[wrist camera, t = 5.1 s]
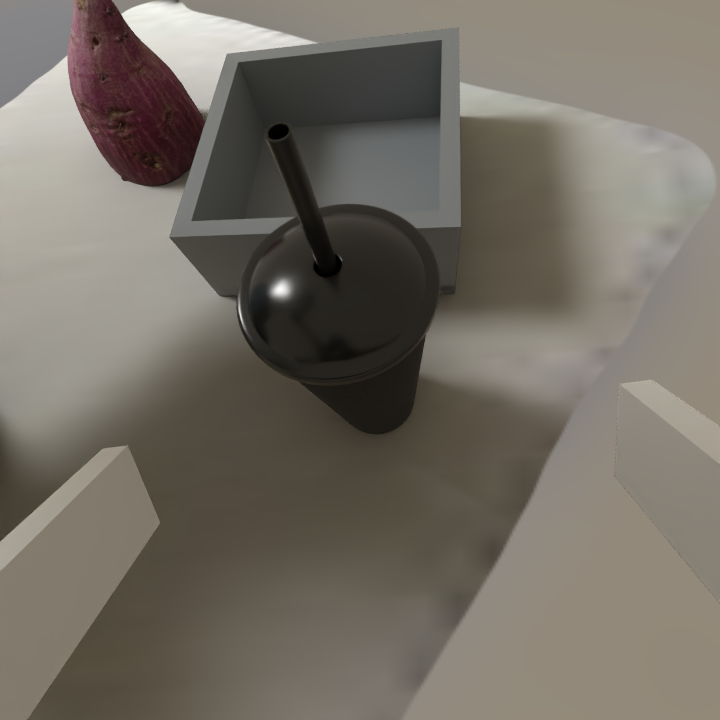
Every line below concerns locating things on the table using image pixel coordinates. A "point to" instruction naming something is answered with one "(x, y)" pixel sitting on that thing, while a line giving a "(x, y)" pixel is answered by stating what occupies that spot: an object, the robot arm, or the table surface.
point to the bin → (328, 145)
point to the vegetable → (130, 98)
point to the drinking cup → (340, 299)
